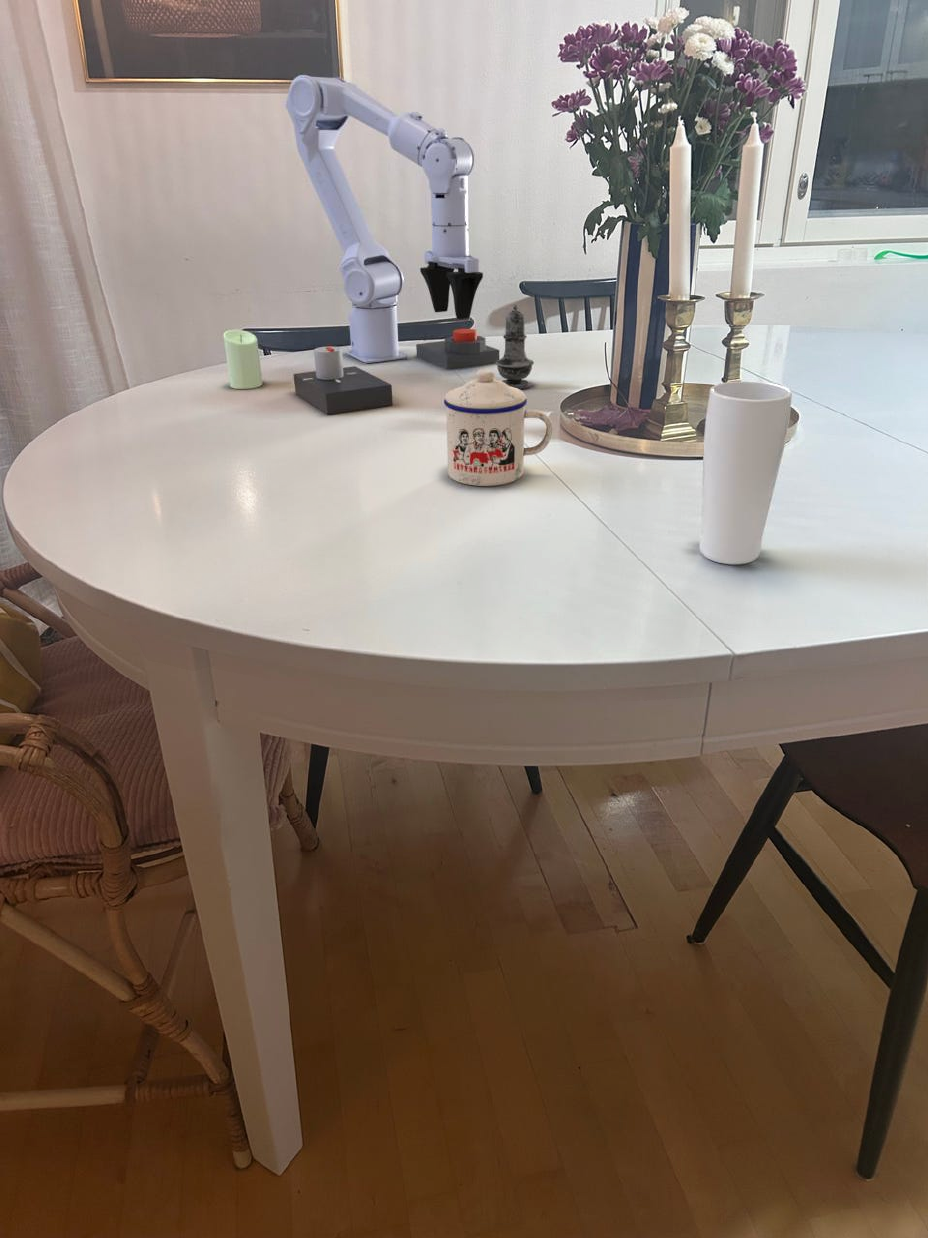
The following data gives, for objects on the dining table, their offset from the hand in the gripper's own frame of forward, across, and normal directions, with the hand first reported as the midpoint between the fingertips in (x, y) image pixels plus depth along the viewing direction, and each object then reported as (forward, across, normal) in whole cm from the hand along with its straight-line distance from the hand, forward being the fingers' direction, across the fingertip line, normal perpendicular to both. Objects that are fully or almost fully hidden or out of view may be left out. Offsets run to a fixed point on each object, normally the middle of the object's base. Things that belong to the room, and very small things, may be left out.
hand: (451, 314), depth 148 cm
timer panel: (+8, +10, -24) cm, 28 cm away
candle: (+8, -6, -34) cm, 35 cm away
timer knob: (+5, +8, -25) cm, 27 cm away
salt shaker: (+9, +17, +2) cm, 19 cm away
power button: (+5, -1, +3) cm, 6 cm away
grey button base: (+8, -4, +3) cm, 10 cm away
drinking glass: (+9, +82, -16) cm, 83 cm away
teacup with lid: (+9, +51, -22) cm, 57 cm away
